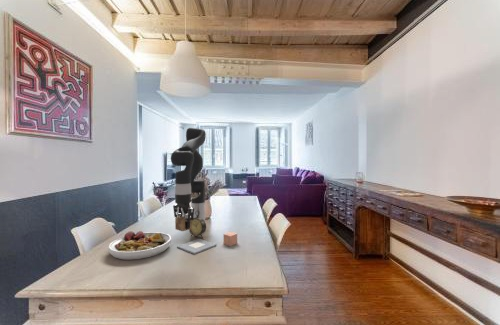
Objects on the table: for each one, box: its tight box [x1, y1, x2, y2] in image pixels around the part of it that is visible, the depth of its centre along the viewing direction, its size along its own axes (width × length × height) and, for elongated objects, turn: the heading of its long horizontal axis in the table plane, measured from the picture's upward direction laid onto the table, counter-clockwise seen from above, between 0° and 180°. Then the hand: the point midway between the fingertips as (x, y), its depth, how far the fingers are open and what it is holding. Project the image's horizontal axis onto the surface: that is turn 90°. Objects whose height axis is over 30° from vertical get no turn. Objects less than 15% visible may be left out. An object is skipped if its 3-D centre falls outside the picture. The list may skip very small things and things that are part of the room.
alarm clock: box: [188, 211, 207, 239], centre depth 148 cm, size 11×5×16 cm, turn 62°
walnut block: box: [174, 216, 192, 232], centre depth 115 cm, size 6×6×6 cm
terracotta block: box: [223, 231, 238, 247], centre depth 136 cm, size 6×6×6 cm
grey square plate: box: [176, 238, 217, 255], centre depth 131 cm, size 15×15×1 cm
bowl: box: [108, 230, 172, 261], centre depth 128 cm, size 30×30×8 cm
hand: (183, 227), depth 115 cm, fingers closed on walnut block, 5 cm apart
